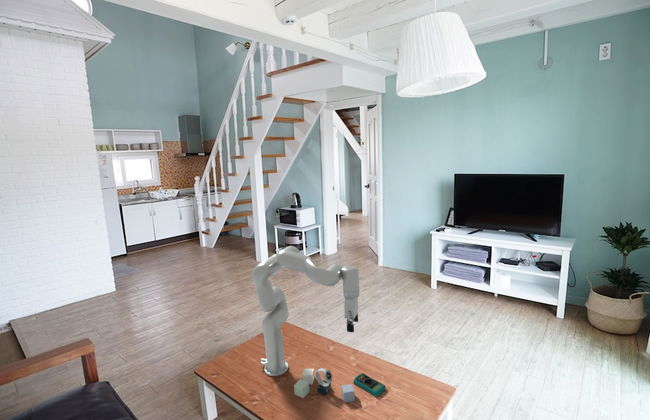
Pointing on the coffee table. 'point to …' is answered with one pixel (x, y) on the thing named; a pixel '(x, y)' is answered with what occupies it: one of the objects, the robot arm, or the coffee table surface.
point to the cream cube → (308, 375)
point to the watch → (324, 385)
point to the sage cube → (301, 388)
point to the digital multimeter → (369, 384)
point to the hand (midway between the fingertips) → (352, 326)
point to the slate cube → (348, 393)
